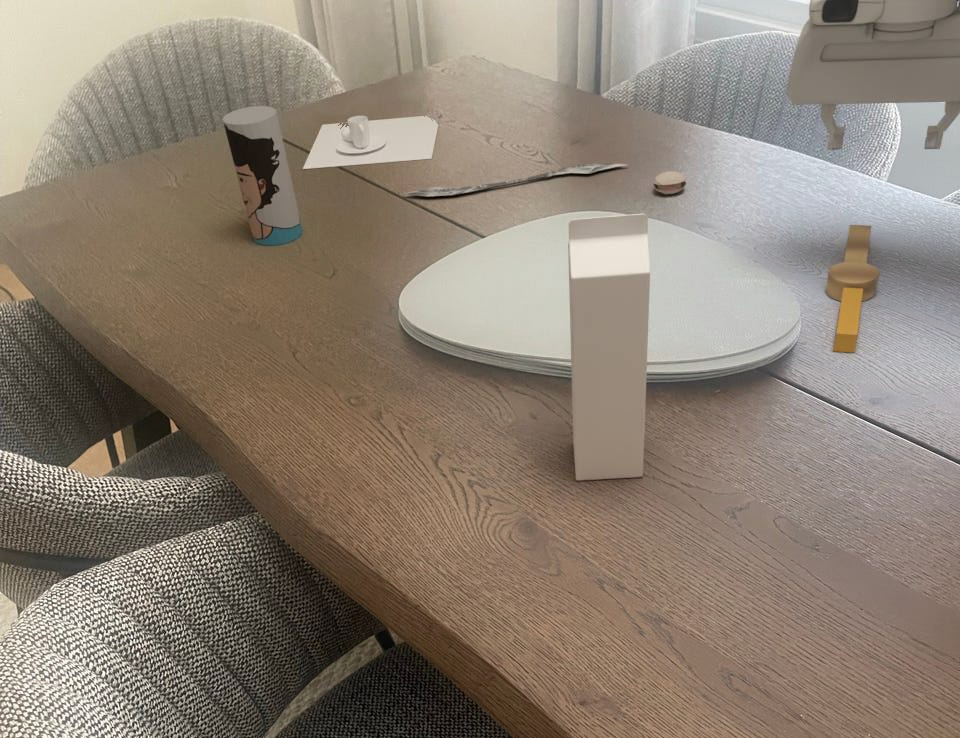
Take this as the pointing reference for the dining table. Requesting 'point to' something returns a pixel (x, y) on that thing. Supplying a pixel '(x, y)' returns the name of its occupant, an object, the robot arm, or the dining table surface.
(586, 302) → the milk
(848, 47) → the robot arm
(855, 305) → the fry
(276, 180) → the white tall cylinder
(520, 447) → the dining table surface
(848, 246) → the spoon
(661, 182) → the macaroon
